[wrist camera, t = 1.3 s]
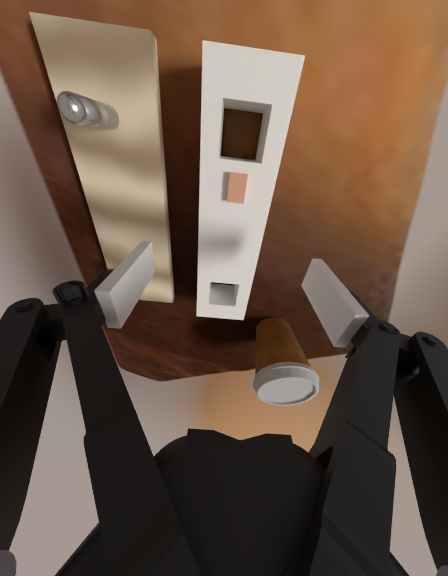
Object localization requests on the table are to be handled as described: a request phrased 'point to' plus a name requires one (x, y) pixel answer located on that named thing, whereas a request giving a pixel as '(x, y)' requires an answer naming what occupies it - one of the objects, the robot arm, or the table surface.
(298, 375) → the disposable coffee cup
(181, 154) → the table surface
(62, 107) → the chrome knobs
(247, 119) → the table surface
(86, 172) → the hanger board
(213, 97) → the power strip
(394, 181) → the table surface
